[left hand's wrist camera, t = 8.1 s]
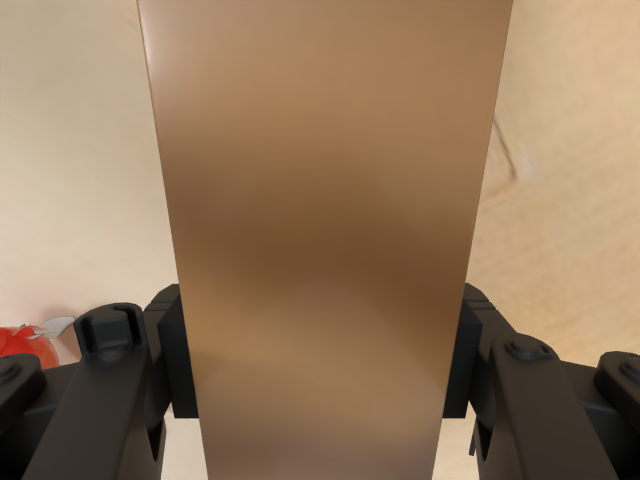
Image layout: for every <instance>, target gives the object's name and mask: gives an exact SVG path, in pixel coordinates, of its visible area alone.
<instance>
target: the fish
mask: <svg viewBox="0 0 640 480" xmlns="http://www.w3.org/2000/svg"><path fill="white" fill-rule="evenodd" d="M74 321H75V319H74V317H56V318H52V319H49V320H47V321H45V322H43V323H42V324H41V325H39V326H37V327H35V326H25V324H24V325H22V326H20V327H0V357H3V356H5V355H10V354H18V353H30V354H35V355H36V356H38V357H39V358H40V361H41V364H42V367H43V369H48V368H53V367H58V366H62V365H59V359H58V355H57V352H56V350H55V348H54V346H53V344H52V343H51V342H50V341H49V340H48V339H53V338H57V337H59V336H60V335H61V334H62V333H63V332H64V331H65V330H66V328H67V327H68V326H69V325H71V324H72V323H73V322H74Z"/></svg>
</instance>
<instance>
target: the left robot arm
mask: <svg viewBox="0 0 640 480" xmlns="http://www.w3.org/2000/svg"><path fill="white" fill-rule="evenodd" d="M73 326H74V329H75V333H76V336H77V340H78V343H79V346H80V350H81V353H82V358H81V360H80V362H77V363H73V364H68V365H63V366H58V367H53V368H48V369H43V367H42V364H41V361H40V358H39V357H38V356H36V355H35V354H30V353H18V354H10V355H5V356H3V357H0V480H161V472H162V464H163V455H164V447H165V439H166V425H165V420H164V415H165V413H166V411H167V409H168V407H169V405H170V403H171V402H172V407H173V413H174V418H199V414H198V407H197V401H196V394H195V387H194V381H193V374H192V367H191V361H190V354H189V347H188V341H187V334H186V327H185V321H184V314H183V307H182V300H181V294H180V287H179V284H172V285H170V286H168V287H167V288H165V289H163V290H162V291H160V292H159V293H158V294H157V295H156V296H155V297H154V299H153V300H152V301H151V303H149V304H148V306H147V307H146V308H145V309H144V311H142V309H141V307H139V306H138V305H136V304H132V303H113V304H108V305H104V306H101V307H98V308H95V309H93V310H90V311H88V312H87V313H85V314H83V315H81V316H80V317H79V318H78V319H77V320H76V321H75V322H74V323H73ZM468 401H470V403H471V405H472V407H473V409H474V411H475V413H476V420H475V425H474V430H473V435H472V439H471V444H470V450H469V455H471V456H474V453H475V448H476V455H477V463H478V471H479V479H480V480H640V355H637V354H634V353H627V352H620V351H613V352H606V353H605V354H603V355H602V356H601V357H600V360H599V363H598V366H597V368H595V367H590V366H585V365H580V364H575V363H570V362H565V361H561V360H560V359H559V357H558V355H557V354H556V353H555V351H554V350H553V349H552V348H551V347H550V346H548V345H547V344H545V343H544V342H542V341H540V340H538V339H536V338H534V337H531V336H528V335H524V334H520V333H517V332H516V331H515V330H514V329H513V328H512V326H511V325H510V324H509V323H508V322H507V321H506V319H505V318H504V317H503V316H502V315H501V314H500V312H499V311H498V310H496V308H495V307H494V305H493V304H492V303H491V302H489V300H488V298H487V297H486V296H485V295H484V294H483V293H482V291H480V290H479V289H477V288H475V287H474V286H472V285H470V284H469V283H465V286H464V292H463V298H462V304H461V310H460V316H459V322H458V328H457V333H456V339H455V345H454V351H453V357H452V363H451V369H450V375H449V381H448V386H447V392H446V398H445V404H444V410H443V416H442V418H465V416H466V411H467V406H468Z"/></svg>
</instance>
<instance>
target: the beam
mask: <svg viewBox="0 0 640 480" xmlns="http://www.w3.org/2000/svg"><path fill="white" fill-rule="evenodd" d="M512 4H513V0H137V6H138V13H139V19H140V26H141V33H142V40H143V46H144V53H145V60H146V66H147V73H148V80H149V86H150V93H151V100H152V106H153V113H154V120H155V127H156V133H157V140H158V147H159V153H160V160H161V167H162V173H163V180H164V187H165V193H166V200H167V207H168V213H169V220H170V227H171V234H172V240H173V247H174V254H175V260H176V267H177V274H178V280H179V287H180V294H181V300H182V307H183V314H184V321H185V327H186V334H187V341H188V347H189V354H190V361H191V367H192V374H193V381H194V387H195V394H196V401H197V407H198V414H199V421H200V428H201V434H202V441H203V448H204V454H205V461H206V468H207V474H208V480H432V475H433V469H434V463H435V457H436V451H437V445H438V439H439V434H440V428H441V422H442V416H443V410H444V404H445V398H446V392H447V386H448V381H449V375H450V369H451V363H452V357H453V351H454V345H455V339H456V333H457V328H458V322H459V316H460V310H461V304H462V298H463V292H464V286H465V280H466V275H467V269H468V263H469V257H470V251H471V245H472V239H473V233H474V227H475V222H476V216H477V210H478V204H479V198H480V192H481V186H482V180H483V174H484V169H485V163H486V157H487V151H488V145H489V139H490V133H491V127H492V121H493V116H494V110H495V104H496V98H497V92H498V86H499V80H500V74H501V68H502V63H503V57H504V51H505V45H506V39H507V33H508V27H509V21H510V15H511V10H512Z"/></svg>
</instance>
